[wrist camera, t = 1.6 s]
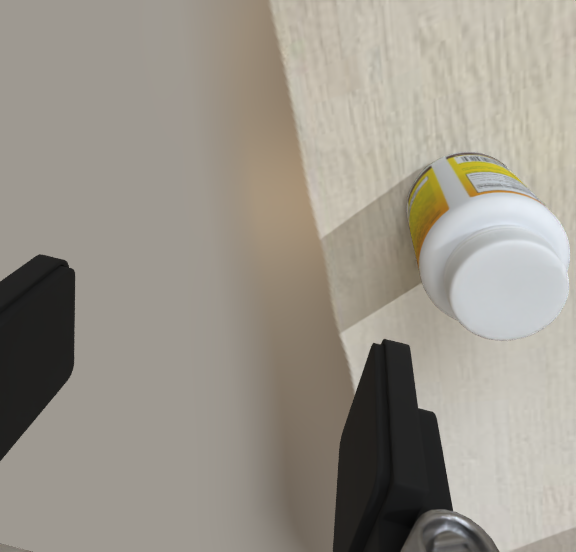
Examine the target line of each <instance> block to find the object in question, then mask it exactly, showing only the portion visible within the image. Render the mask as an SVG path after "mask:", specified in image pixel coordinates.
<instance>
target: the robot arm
mask: <svg viewBox="0 0 576 552" xmlns="http://www.w3.org/2000/svg"><path fill="white" fill-rule="evenodd" d="M74 321H75V272H74V270H73V269H72V268H69V265H68V263H67V261H65V260H62V259H58V258H53V257H50V256H46V255H38V256H36V257H34V258H33V259H31V260H30V261H29V262H27V263H26V264H24V265H23V266H22V267H20V268H19V269H17V270H16V271H15V272H13V273H12V274H10V275H9V276H7V277H6V278H5V279H3V280H2V281H0V461H1V460H2V458H3V457H4V456H5V455H6V454H7V452H8V451H9V450H10V449H11V448H12V446H13V445H14V444H15V443H16V442H17V440H18V439H19V438H20V437H21V436H22V434H23V433H24V432H25V431H26V430H27V428H28V427H29V426H30V425H31V424H32V422H33V421H34V420H35V419H36V418H37V416H38V415H39V414H40V413H41V412H42V410H43V409H44V408H45V407H46V406H47V404H48V403H49V402H50V401H51V400H52V398H53V397H54V396H55V395H56V394H57V392H58V391H59V390H60V389H61V388H62V386H63V385H64V384H65V383H66V381H67V380H68V379H69V377H70V375H71V373H72V371H73V366H74ZM336 495H337V496H336V510H335V526H334V543H333V552H499V550H498V549H497V547H496V545H495V543H494V542H493V540H492V539H491V538H490V536H489V535H488V534H487V533H486V532H485V531H484V530H483V529H482V528H481V527H480V526H479V525H477V524H476V523H475V522H473V521H472V520H471V519H469V518H467V517H465V516H463V515H461V514H459V513H457V512H453V508H452V502H451V496H450V491H449V485H448V479H447V474H446V468H445V463H444V457H443V451H442V446H441V440H440V434H439V429H438V423H437V418H436V415H435V414H434V413H433V412H431V411H427V410H423V409H419V408H418V404H417V397H416V389H415V382H414V374H413V367H412V359H411V352H410V346H409V345H407V344H403V343H399V342H395V341H391V340H387V339H384V340H383V341H382V343H381V345H380V344H376V343H373V344H372V346H371V349H370V352H369V355H368V358H367V361H366V364H365V367H364V370H363V373H362V376H361V379H360V382H359V385H358V388H357V391H356V394H355V397H354V400H353V403H352V406H351V409H350V412H349V415H348V418H347V421H346V424H345V426H344V429H343V433H342V436H341V441H340V449H339V463H338V478H337V494H336ZM0 552H31V551H27V550H24V549H19V548H16V547H12V546H8V545H4V544H1V543H0Z"/></svg>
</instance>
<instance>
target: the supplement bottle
mask: <svg viewBox="0 0 576 552" xmlns="http://www.w3.org/2000/svg"><path fill="white" fill-rule="evenodd" d="M407 219H408V223H409V228H410V232H411V237H412V242H413V246H414V250H415V255H416V259H417V264H418V268H419V273H420V277H421V281H422V283H423V286H424V289H425V291H426V293H427V294H428V296H429V298H430V299H431V300H432V302H433V303H434V304H435V305H436V306H437V307H438V308H439V309H440V310H441V311H443V312H444V313H445V314H447V315H448V316H450V317H452V318H454V319H455V320H458V321H459V322H460V323H461V324H462V325H463V326H464V327H465V328H466V329H467V330H469V331H470V332H472V333H474V334H476V335H478V336H480V337H483V338H486V339H491V340H500V341H507V340H515V339H521V338H524V337H527V336H530V335H533V334H535V333H537V332H539V331H540V330H542V329H544V328H545V327H546V326H548V325H549V324H550V323H551V322H552V321H553V320H554V319H555V318H556V317H557V316H558V315H559V313H560V312H561V310H562V309H563V307H564V305H565V302H566V300H567V296H568V291H569V278H568V275H567V272H568V268H569V263H570V248H569V241H568V238H567V235H566V232H565V230H564V228H563V226H562V225H561V223H560V221H559V220H558V219H557V218H556V216H555V215H554V214H553V213H552V212H551V211H550V210H549V209H548V208H547V207H546V206H545V205H544V204H543V203H542V202H541V201H540V200H539V199H538V198H537V197H536V196H535V195H534V194H533V193H532V192H531V191H530V190H529V189H528V188H527V187H526V186H525V185H524V184H523V183H522V182H521V181H520V180H519V179H518V178H517V177H516V176H515V175H514V174H513V173H512V172H511V171H510V170H509V169H508V168H507V167H506V166H505V165H504V164H503V163H501V162H500V161H498V160H497V159H495V158H493V157H491V156H488V155H485V154H482V153H476V152H460V153H454V154H451V155H448V156H445V157H442V158H440V159H438V160H437V161H435V162H433V163H432V164H430V165H429V166H428V167H427V168H426V169H425V170H424V171H423V172H422V173H421V174H420V175H419V176H418V177H417V179H416V180H415V182H414V184H413V186H412V188H411V190H410V192H409V196H408V200H407Z"/></svg>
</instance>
